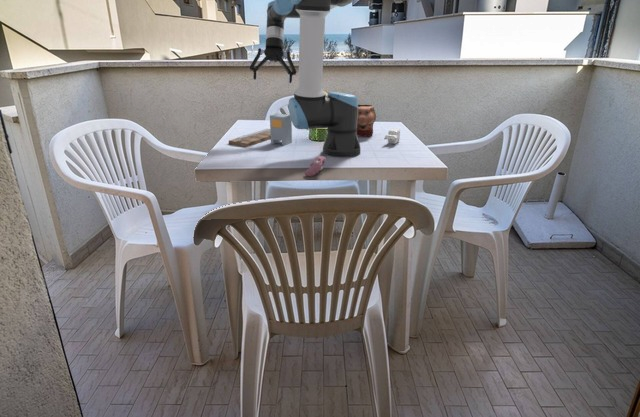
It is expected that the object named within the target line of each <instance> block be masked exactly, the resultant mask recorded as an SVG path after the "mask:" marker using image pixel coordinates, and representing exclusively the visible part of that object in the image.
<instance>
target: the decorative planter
mask: <svg viewBox="0 0 640 417" xmlns="http://www.w3.org/2000/svg"><path fill="white" fill-rule="evenodd" d="M376 119H377V113H376V110H375V107H374V105H373V104H359V103H358V116H357V137H372V136H373V135H374V124H375V122H376Z"/></svg>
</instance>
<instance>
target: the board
mask: <svg viewBox="0 0 640 417" xmlns="http://www.w3.org/2000/svg"><path fill="white" fill-rule="evenodd" d="M237 138H238V137H236V138H233V139H229V140H228V145H233V146H239V147H245V148H248V147H251V146H254V145H257V144H259V143H262V142H266V141H268V140H271V133H268V134H265V135H261V136H258V137H255V138H252V139H249V140H246V141H243V142H239V141H237Z"/></svg>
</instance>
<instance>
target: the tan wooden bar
mask: <svg viewBox="0 0 640 417" xmlns="http://www.w3.org/2000/svg"><path fill="white" fill-rule="evenodd" d="M268 133H270V128H264V129H260V130H258V131H255V132H252V133H251V132H250V133H248V134H246V135H241V136H238V137H236V138H237V141H239V142H243V141H246V140H249V139H252V138H255V137H258V136H261V135H265V134H268Z"/></svg>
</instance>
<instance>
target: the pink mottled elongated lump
mask: <svg viewBox="0 0 640 417" xmlns="http://www.w3.org/2000/svg"><path fill="white" fill-rule="evenodd" d="M326 160H327V158H326V157H325V156H322V155H320V156H316V158H315V159H314V161H313V162H312V163H311V164H310V166H309V167H308V169H306V170H305V172H304V176H305V177H313V176H317V175H318V174H319V173H320V172H321V171H322V170H323V169H324V167H323V166H324V165H325V162H326Z"/></svg>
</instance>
